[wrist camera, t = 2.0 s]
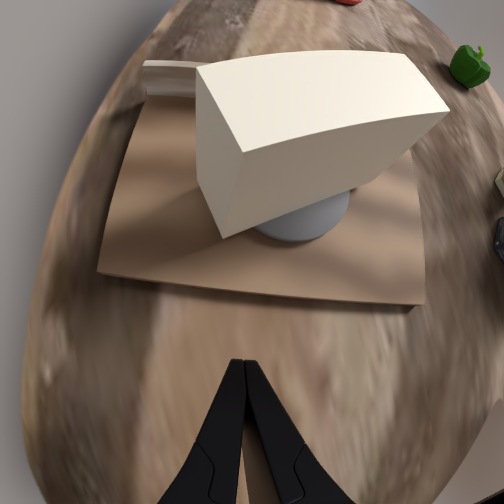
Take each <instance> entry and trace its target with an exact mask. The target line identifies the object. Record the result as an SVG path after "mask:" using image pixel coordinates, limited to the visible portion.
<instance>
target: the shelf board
mask: <svg viewBox="0 0 504 504" xmlns="http://www.w3.org/2000/svg"><path fill="white" fill-rule="evenodd" d="M207 64H211V63H200V62H186V61H157V60H145V62H144V64H143V71H144V77H145V83H146V89H147V94H148V95H147V98H146V100H145V103H144V105H143V108H142V110H141V113H140V115H139V118H138V120H137V123H136V126H135V128H134V131H133V134H132V137H131V139H130V142H129V145H128V148H127V151H126V154H125V157H124V160H123V163H122V167H121V170H120V173H119V176H118V180H117V183H116V187H115V190H114V194H113V198H112V202H111V206H110V209H109V214H108V218H107V222H106V226H105V231H104V235H103V240H102V245H101V250H100V255H99V261H98V266H97V272H99V273H101V274H103V275H109V276H116V277H122V278H128V279H135V280H142V281H149V282H156V283H163V284H170V285H178V286H185V287H193V288H201V289H210V290H218V291H227V292H236V293H245V294H255V295H264V296H275V297H286V298H297V299H309V300H321V301H335V302H349V303H365V304H383V305H404V306H419V305H425V260H424V244H423V232H422V222H421V213H420V205H419V197H418V190H417V184H416V178H415V172H414V167H413V162H412V157H411V152H410V148H409V149H408V150H407V151H406V152H405V153H404V154H402V155H401V156H400V157H399V158H398V159H397V160H396V161H395V162H393V163H392V164H391V165H390V166H389V167H388V168H387V169H385V170H384V171H383V172H382V173H381V174H380V175H379V176H377V177H376V178H375V179H374V180H373V181H372V182H370V183H367V184H364V185H361V186H359V187H356V188H353V189H351V190H350V194H349V203H348V206H347V210H346V212H345V214H344V216H343V217H342V219H341V220H340V222H339V223H338V224H337V225H336V226H335V227H334V228H332V229H331V230H330V231H328V232H327V233H326V234H324V235H323V236H321V237H319V238H317V239H314V240H311V241H307V242H301V243H289V242H283V241H278V240H275V239H272V238H269V237H267V236H265V235H263V234H261V233H260V232H258V231H257V230H255V229H254V228H252V227H251V228H249V229H246V230H244V231H241V232H239V233H236V234H234V235H231V236H229V237H226V238H224V239H223V238H222V236H221V234H220V231H219V229H218V227H217V225H216V222H215V220H214V218H213V215H212V213H211V211H210V209H209V206H208V204H207V202H206V199H205V197H204V195H203V192H202V190H201V188H200V186H199V183H198V181H197V167H196V67H198V66H203V65H207Z"/></svg>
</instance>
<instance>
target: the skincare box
mask: <svg viewBox="0 0 504 504" xmlns="http://www.w3.org/2000/svg"><path fill="white" fill-rule="evenodd" d="M495 183H496V185H497V186H498V188H499V190H500V192H501V194H502V196H503V197H504V167H503V168H502V169H501V171H500V172H499V174H498V176H497V178H496V180H495Z"/></svg>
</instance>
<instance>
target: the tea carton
mask: <svg viewBox="0 0 504 504" xmlns="http://www.w3.org/2000/svg"><path fill="white" fill-rule="evenodd" d="M449 112H450V110H449V108H448V107H447V105H446V104H445V103H444V101H443V100H442V99H441V97H440V96H439V95H438V93H437V92H436V91H435V90H434V88H433V87H432V86H431V84H430V83H429V82H428V81H427V80H426V78H425V77H424V76H423V75H422V74H421V72H420V71H419V70H418V69H417V68H416V67H415V65H414V64H413V63H412V62H411V61H410V60H409V59H408V58H407V57H406V55H405V54H398V53H387V52H374V51H348V50H328V51H302V52H288V53H277V54H268V55H260V56H252V57H245V58H239V59H233V60H227V61H222V62H217V63H212V64H207V65H203V66H198V67H196V167H197V181H198V183H199V186H200V188H201V190H202V192H203V195H204V197H205V199H206V202H207V204H208V206H209V209H210V211H211V213H212V215H213V218H214V220H215V222H216V225H217V227H218V229H219V231H220V234H221V236H222V238H223V239H224V238H226V237H229V236H231V235H234V234H236V233H239V232H241V231H244V230H246V229H249V228H251V227H252V228H254V229H255V230H257V231H258V232H260V233H261V234H263V235H265V236H267V237H269V238H272V239H275V240H278V241H283V242H289V243H301V242H307V241H311V240H314V239H317V238H319V237H321V236H323V235H324V234H326V233H327V232H328V231H330V230H331V229H332V228H334V227H335V226H336V225H337V224H338V223H339V222H340V220H341V219H342V217H343V216H344V214H345V212H346V210H347V206H348V203H349V194H350V190H351V189H353V188H356V187H359V186H361V185H364V184H367V183H370V182H372V181H373V180H374V179H375V178H376V177H377V176H379V175H380V174H381V173H382V172H383V171H384V170H385V169H387V168H388V167H389V166H390V165H391V164H392V163H393V162H395V161H396V160H397V159H398V158H399V157H400V156H401V155H402V154H404V153H405V152H406V151H407V150H408V149H409V148H410V147H411V146H413V145H414V144H415V143H416V142H417V141H418V140H419V139H420V138H421V137H423V136H424V135H425V134H426V133H427V132H428V131H429V130H430V129H431V128H432V127H434V126H435V125H436V124H437V123H438V122H439V121H440V120H441V119H442V118H443V117H444V116H446V115H447V114H448V113H449Z"/></svg>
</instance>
